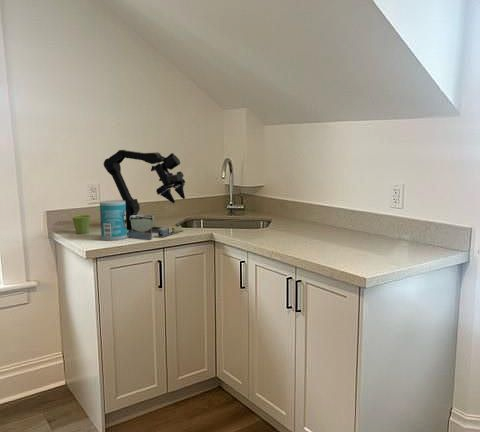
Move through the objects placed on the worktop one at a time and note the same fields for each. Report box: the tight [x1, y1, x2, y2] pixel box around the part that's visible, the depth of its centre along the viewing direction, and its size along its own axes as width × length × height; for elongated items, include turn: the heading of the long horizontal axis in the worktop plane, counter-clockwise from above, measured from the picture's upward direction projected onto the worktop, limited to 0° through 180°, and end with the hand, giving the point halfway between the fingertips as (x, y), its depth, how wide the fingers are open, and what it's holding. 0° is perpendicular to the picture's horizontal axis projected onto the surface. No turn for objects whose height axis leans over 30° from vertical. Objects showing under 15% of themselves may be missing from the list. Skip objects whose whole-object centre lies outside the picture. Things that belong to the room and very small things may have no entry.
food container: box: [129, 214, 155, 236], centre depth 242 cm, size 12×6×10 cm, turn 84°
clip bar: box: [171, 224, 182, 233], centre depth 248 cm, size 2×6×4 cm, turn 151°
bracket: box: [127, 225, 170, 241], centre depth 241 cm, size 15×16×3 cm
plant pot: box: [71, 214, 91, 235], centre depth 248 cm, size 9×9×9 cm
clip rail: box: [157, 227, 184, 239], centre depth 243 cm, size 3×18×4 cm, turn 152°
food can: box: [99, 199, 128, 242], centre depth 234 cm, size 12×12×18 cm
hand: (179, 200), depth 250 cm, fingers open, 9 cm apart
